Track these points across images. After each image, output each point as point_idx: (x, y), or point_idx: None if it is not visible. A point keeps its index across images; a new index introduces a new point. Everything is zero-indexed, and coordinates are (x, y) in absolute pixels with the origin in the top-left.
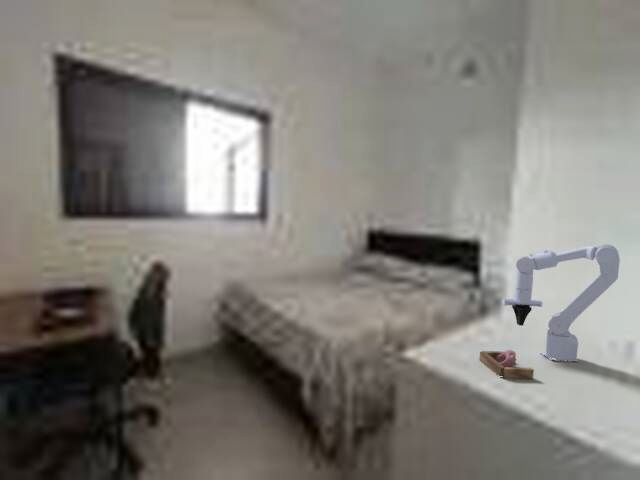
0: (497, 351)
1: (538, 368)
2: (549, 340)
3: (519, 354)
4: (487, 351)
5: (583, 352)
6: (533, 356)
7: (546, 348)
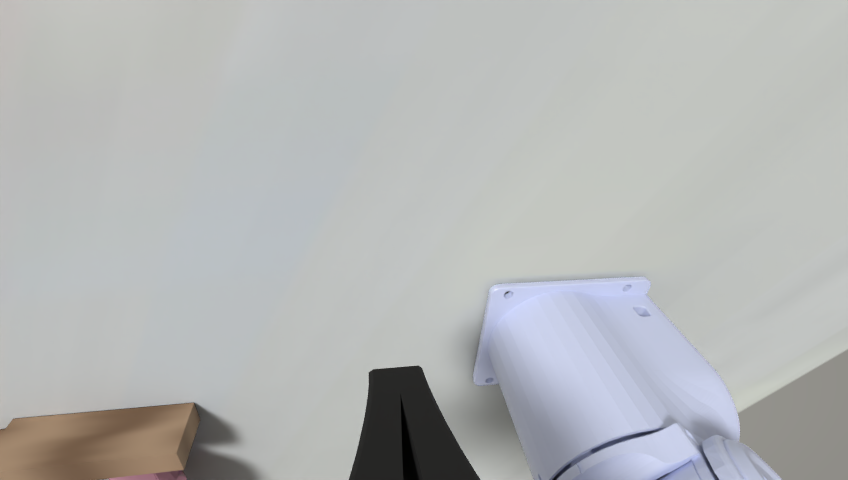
0: (99, 462)
1: (331, 454)
2: (522, 441)
3: (331, 311)
4: (18, 474)
5: (814, 225)
6: (410, 329)
7: (505, 365)
